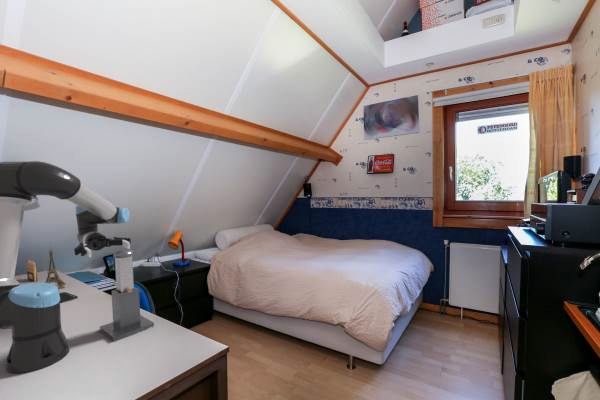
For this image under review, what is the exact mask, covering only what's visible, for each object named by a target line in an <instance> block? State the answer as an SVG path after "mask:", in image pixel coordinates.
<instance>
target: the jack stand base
mask: <svg viewBox="0 0 600 400" xmlns="http://www.w3.org/2000/svg"><path fill="white" fill-rule="evenodd" d="M140 304H141V303H140V289H139V288H137V287H135V286H134V290H132V289H130V290H127V292H124V293H118V292H117V288H116V289H114V290H111V306H112V310H111V311H112V322H108V323H106V324H103V325H100V326H99V332H101V333H102V334H104V336H106V338H107V337H108V339H110V340H111V341H112V342H117V341H120V340H123V339H126V338H128V337H130V336H133V335H135V334H138V332H139V333H141V332H144V331H146V329H147V330H149V329H151V328H150V327H152V328H154V327H155V322H153V321H151V320H150V319H149V318H147V317H145V316H143V315H141V310H140V309H141V307H140ZM153 326H154V327H153ZM148 328H149V329H148ZM143 330H144V331H143Z"/></svg>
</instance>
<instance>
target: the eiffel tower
mask: <svg viewBox="0 0 600 400" xmlns="http://www.w3.org/2000/svg"><path fill="white" fill-rule="evenodd" d="M48 254H49V257H48V258H49V260H48V261H49V262H48V270H47V271H46V272H47V276H46V279H45V282H44V283H50V284H53V283H55V284H57V288H58V290H62V289H65V288H66V284H67V283H66V282H64V280H62V279H61V278H60V275H58V269H57V268H56V265H55V264H56V263H55V260H54V250H53V249H52V245H51V243H50V250H48ZM51 274H53V275H54V276H52V277H51Z"/></svg>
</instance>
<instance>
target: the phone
mask: <svg viewBox="0 0 600 400" xmlns="http://www.w3.org/2000/svg"><path fill="white" fill-rule="evenodd" d="M59 295H60V304H63V303H66V302H69V301H73V300H77V299H78V295H75V294H71V293H69V292H66V291H63V292H59Z"/></svg>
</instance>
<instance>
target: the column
mask: <svg viewBox="0 0 600 400" xmlns="http://www.w3.org/2000/svg"><path fill="white" fill-rule="evenodd" d="M112 256H113V259H114V266H115V285H116V289H117V292H118V293H124V292H127V290H130V289H132V290H134V287H135V286H134V283H135V282H134V268H133V256H134V251H133V250H132V249H125V250H124V249H123V250H118V251H115V252H113V255H112Z"/></svg>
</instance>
